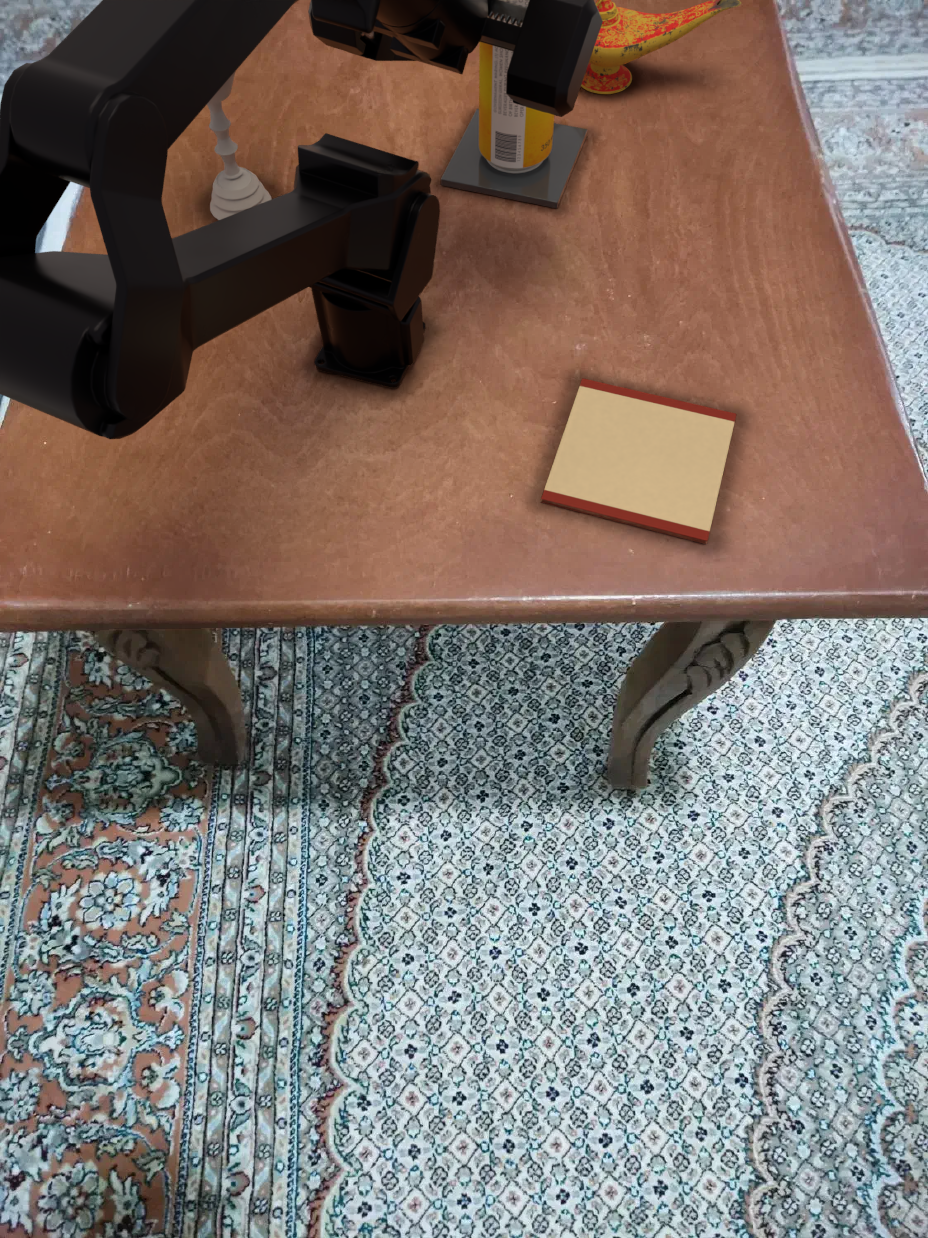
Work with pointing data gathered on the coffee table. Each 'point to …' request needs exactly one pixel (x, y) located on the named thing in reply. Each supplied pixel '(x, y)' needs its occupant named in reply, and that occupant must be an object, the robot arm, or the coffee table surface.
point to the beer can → (508, 116)
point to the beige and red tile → (641, 460)
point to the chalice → (231, 166)
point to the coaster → (530, 187)
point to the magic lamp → (638, 39)
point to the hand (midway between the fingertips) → (490, 68)
